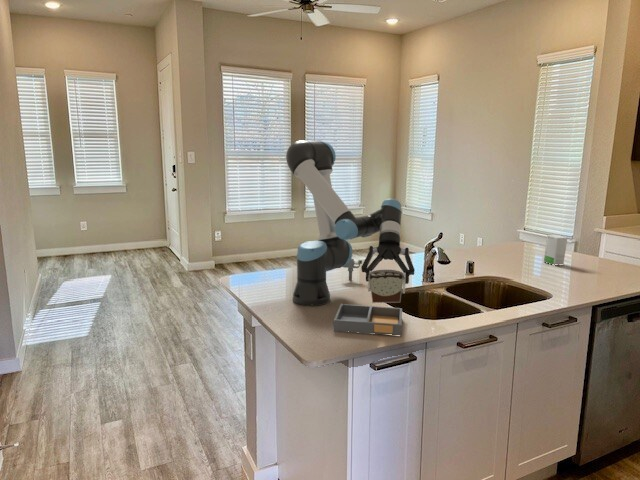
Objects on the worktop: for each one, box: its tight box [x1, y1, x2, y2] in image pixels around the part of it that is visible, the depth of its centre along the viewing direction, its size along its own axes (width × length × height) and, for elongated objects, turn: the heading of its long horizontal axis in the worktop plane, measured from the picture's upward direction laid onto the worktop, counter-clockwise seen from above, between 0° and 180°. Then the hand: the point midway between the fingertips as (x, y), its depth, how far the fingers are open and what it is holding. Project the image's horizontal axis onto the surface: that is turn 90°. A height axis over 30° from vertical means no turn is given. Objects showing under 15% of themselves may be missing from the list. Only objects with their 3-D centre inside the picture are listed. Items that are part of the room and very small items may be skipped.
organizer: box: [333, 303, 403, 336], centre depth 160 cm, size 22×17×4 cm
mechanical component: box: [342, 258, 363, 282], centre depth 214 cm, size 3×10×10 cm, turn 79°
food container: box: [368, 269, 405, 304], centre depth 156 cm, size 12×6×10 cm, turn 87°
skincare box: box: [543, 234, 568, 265], centre depth 249 cm, size 8×7×16 cm
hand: (386, 290), depth 154 cm, fingers closed on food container, 11 cm apart
